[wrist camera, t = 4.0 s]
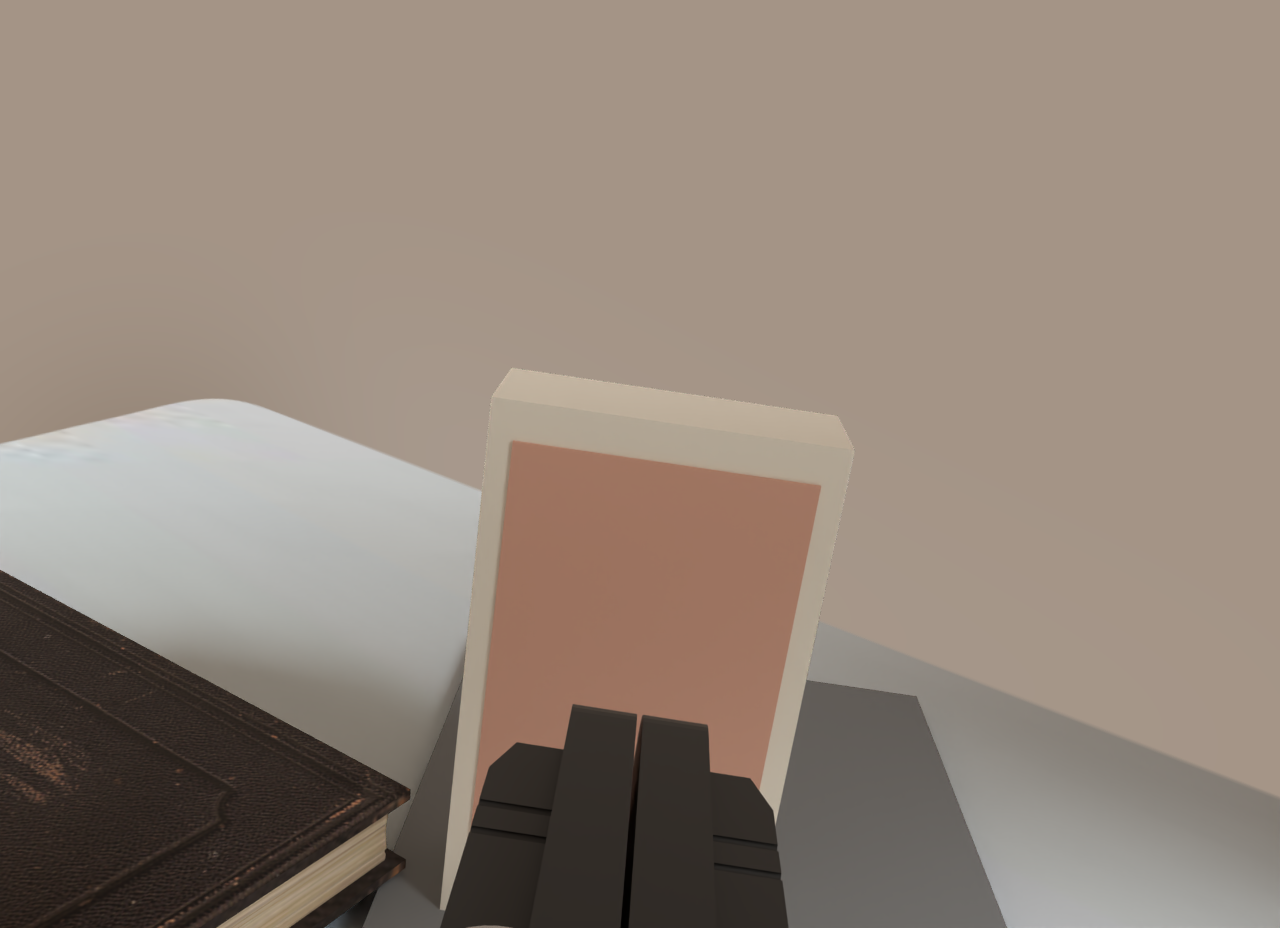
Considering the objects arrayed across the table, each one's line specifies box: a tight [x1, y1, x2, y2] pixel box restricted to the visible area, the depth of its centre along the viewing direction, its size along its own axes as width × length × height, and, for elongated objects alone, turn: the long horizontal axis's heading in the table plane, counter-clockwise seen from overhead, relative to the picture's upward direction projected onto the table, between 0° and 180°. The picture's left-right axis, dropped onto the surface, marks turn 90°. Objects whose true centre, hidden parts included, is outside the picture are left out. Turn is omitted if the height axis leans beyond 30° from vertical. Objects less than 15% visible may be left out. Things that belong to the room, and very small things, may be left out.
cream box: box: [440, 368, 855, 910], centre depth 24 cm, size 7×3×12 cm, turn 87°
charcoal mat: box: [363, 679, 1007, 928], centre depth 30 cm, size 15×15×1 cm
